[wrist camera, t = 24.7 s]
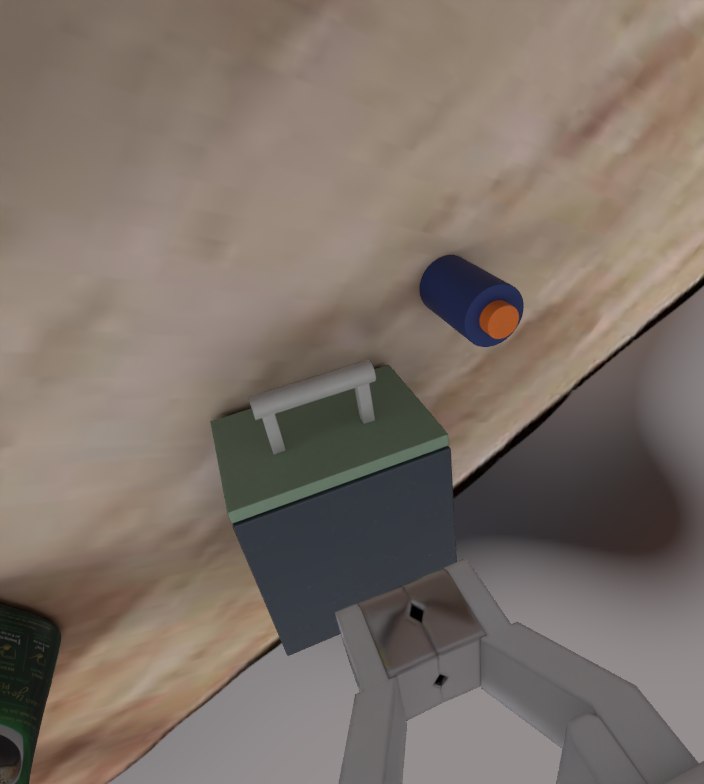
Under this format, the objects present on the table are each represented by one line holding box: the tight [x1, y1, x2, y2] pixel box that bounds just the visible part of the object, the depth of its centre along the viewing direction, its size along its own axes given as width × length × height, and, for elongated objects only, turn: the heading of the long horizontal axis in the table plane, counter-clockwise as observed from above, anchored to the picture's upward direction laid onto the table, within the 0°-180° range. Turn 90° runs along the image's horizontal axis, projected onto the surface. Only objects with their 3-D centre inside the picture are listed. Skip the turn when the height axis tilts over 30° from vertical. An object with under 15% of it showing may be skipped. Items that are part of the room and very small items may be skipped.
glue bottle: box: [420, 255, 523, 347], centre depth 34 cm, size 4×4×7 cm
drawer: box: [211, 360, 449, 523], centre depth 35 cm, size 18×14×9 cm
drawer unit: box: [232, 446, 457, 656], centre depth 37 cm, size 14×14×10 cm
